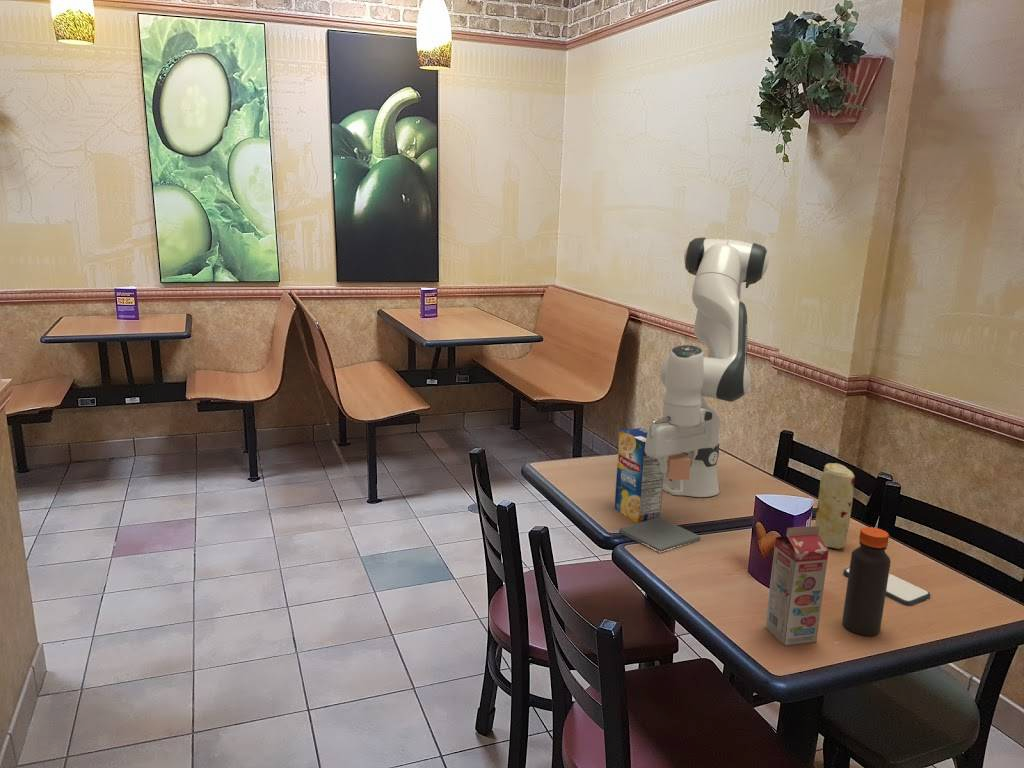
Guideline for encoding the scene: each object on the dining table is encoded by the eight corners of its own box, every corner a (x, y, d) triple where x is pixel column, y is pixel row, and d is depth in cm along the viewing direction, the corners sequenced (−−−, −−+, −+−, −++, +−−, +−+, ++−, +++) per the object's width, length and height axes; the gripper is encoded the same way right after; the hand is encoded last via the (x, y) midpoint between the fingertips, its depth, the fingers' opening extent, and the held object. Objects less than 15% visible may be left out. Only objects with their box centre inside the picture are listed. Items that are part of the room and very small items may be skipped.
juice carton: (765, 626, 145) (777, 521, 140) (795, 623, 147) (808, 518, 142) (784, 645, 139) (798, 535, 134) (816, 641, 140) (830, 533, 135)
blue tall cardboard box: (638, 524, 192) (644, 442, 187) (614, 508, 201) (619, 430, 196) (659, 520, 195) (666, 439, 190) (635, 505, 204) (640, 427, 199)
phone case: (932, 600, 159) (864, 567, 172) (933, 593, 158) (865, 561, 172) (907, 610, 154) (840, 576, 168) (908, 603, 154) (841, 569, 167)
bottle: (887, 636, 143) (902, 539, 138) (853, 637, 142) (867, 539, 138) (867, 617, 149) (881, 524, 145) (835, 618, 149) (848, 524, 144)
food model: (853, 550, 180) (864, 472, 175) (829, 553, 178) (840, 473, 174) (827, 534, 189) (837, 458, 184) (804, 536, 187) (813, 460, 183)
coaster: (618, 532, 186) (619, 528, 186) (658, 520, 194) (658, 516, 194) (659, 553, 175) (660, 549, 175) (700, 540, 183) (700, 536, 183)
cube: (663, 472, 183) (665, 452, 182) (684, 472, 183) (685, 453, 182) (668, 479, 178) (670, 459, 177) (689, 479, 179) (690, 459, 177)
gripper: (660, 423, 169) (656, 480, 172) (719, 412, 181) (714, 466, 184) (640, 416, 174) (636, 473, 177) (699, 406, 186) (694, 459, 189)
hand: (676, 469), depth 181 cm, fingers closed on cube, 7 cm apart
